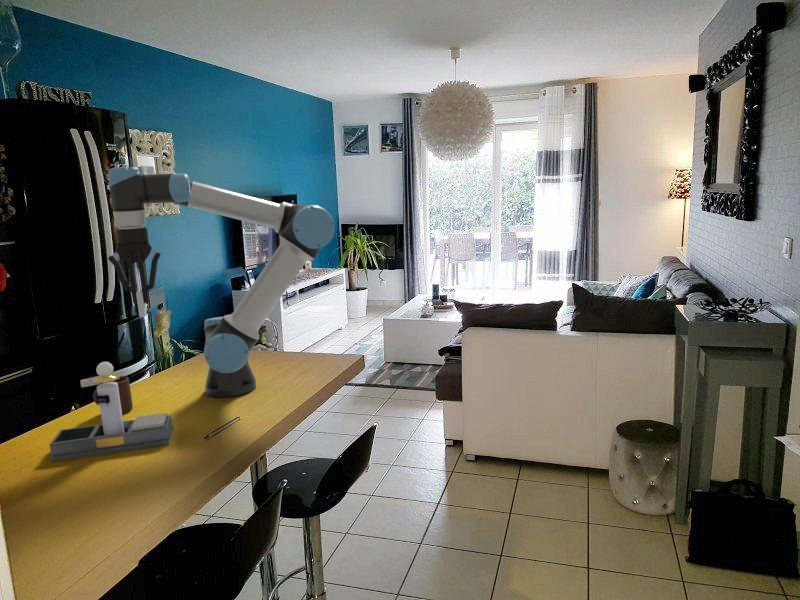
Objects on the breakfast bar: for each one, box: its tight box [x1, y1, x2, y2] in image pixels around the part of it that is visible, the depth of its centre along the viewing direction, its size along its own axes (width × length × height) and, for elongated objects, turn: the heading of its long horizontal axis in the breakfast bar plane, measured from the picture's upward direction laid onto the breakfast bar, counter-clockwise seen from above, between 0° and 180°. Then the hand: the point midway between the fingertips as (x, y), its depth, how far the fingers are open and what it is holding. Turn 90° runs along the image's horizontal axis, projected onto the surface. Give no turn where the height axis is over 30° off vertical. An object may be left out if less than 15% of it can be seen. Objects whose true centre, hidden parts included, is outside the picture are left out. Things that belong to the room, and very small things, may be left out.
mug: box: [92, 375, 134, 415], centre depth 163 cm, size 12×8×9 cm, turn 167°
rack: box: [49, 412, 175, 463], centre depth 143 cm, size 26×10×5 cm, turn 105°
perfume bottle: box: [92, 361, 125, 436], centre depth 141 cm, size 6×6×20 cm
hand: (143, 315), depth 157 cm, fingers closed
